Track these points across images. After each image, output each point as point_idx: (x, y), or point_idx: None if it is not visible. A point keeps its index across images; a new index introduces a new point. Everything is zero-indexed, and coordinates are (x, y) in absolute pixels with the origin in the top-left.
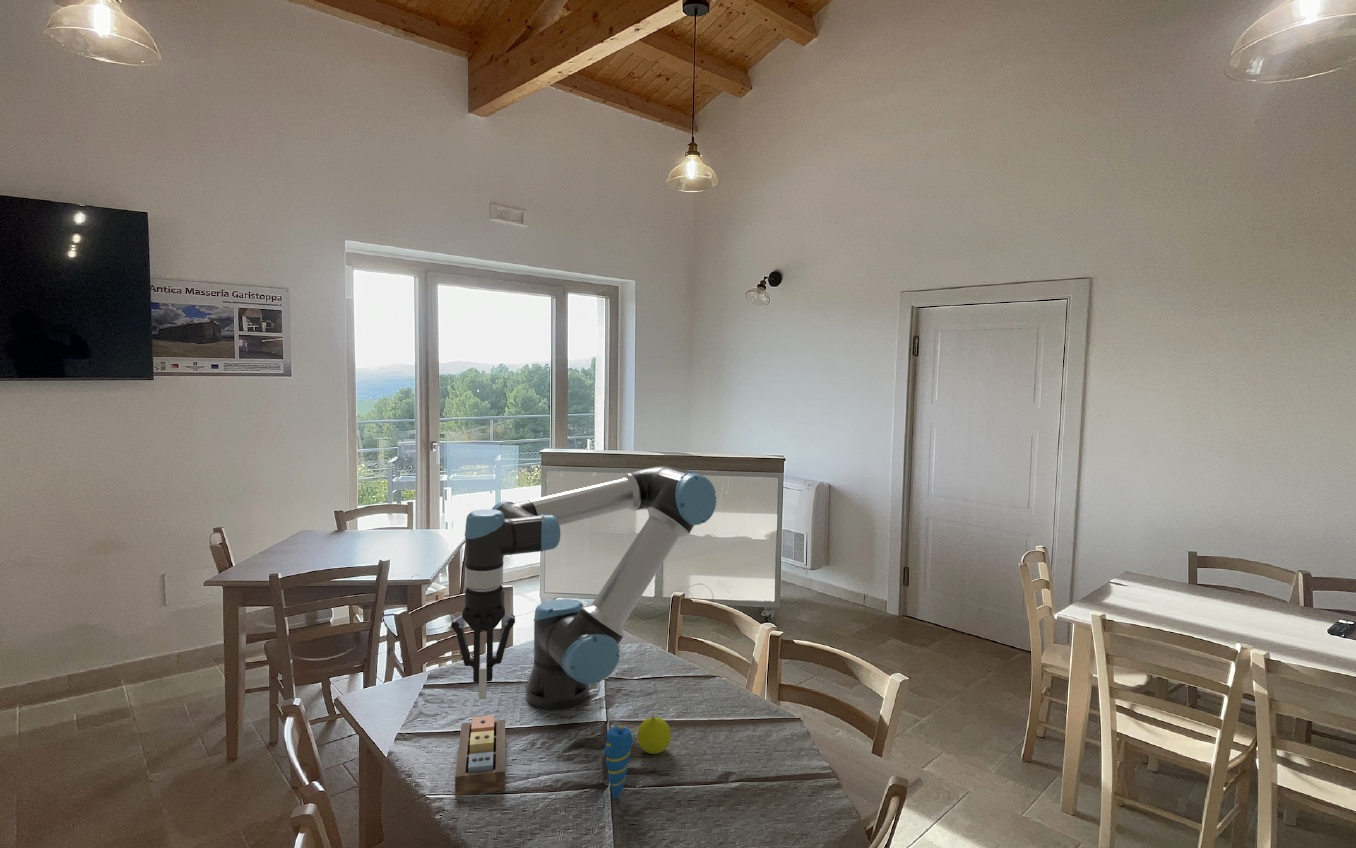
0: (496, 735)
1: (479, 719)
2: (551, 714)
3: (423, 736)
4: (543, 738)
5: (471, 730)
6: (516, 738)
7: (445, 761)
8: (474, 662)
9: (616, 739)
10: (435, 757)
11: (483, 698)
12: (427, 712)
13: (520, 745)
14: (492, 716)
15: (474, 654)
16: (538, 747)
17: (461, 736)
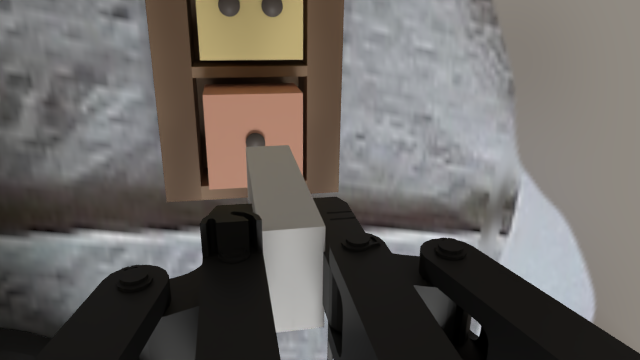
0: (192, 82)
1: None
2: (5, 302)
3: (439, 208)
4: (13, 144)
5: (300, 91)
6: (127, 158)
7: (371, 50)
8: (386, 261)
9: None
10: (403, 81)
11: (262, 146)
12: None
13: (105, 108)
14: (216, 182)
15: (420, 311)
16: (25, 82)
17: (335, 97)
